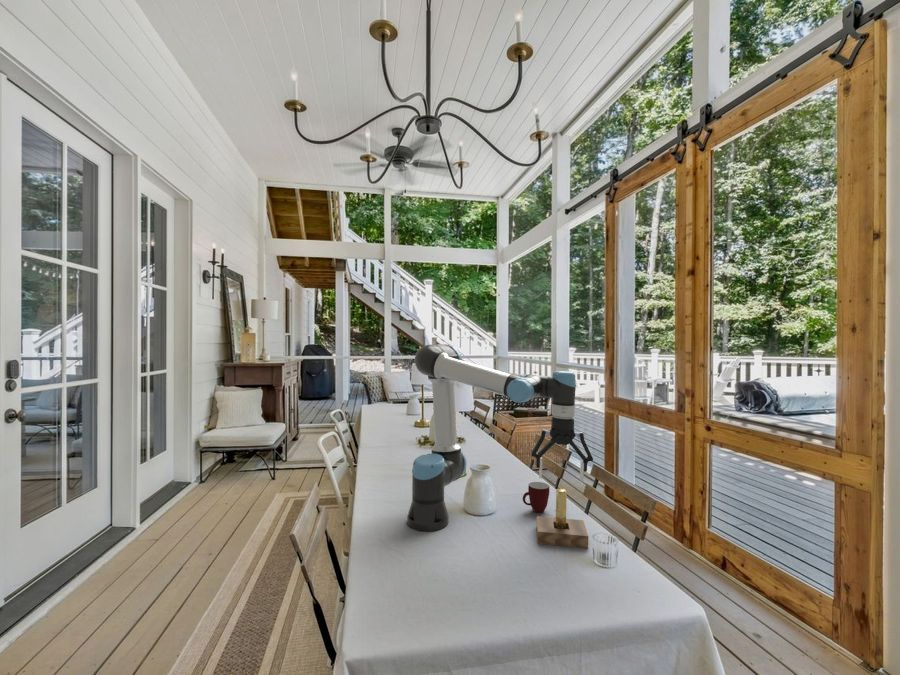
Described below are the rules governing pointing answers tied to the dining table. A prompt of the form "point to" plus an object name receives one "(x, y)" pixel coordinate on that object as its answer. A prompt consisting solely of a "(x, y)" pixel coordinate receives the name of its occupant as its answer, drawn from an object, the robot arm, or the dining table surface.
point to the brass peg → (561, 508)
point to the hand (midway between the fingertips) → (560, 479)
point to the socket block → (562, 533)
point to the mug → (537, 496)
